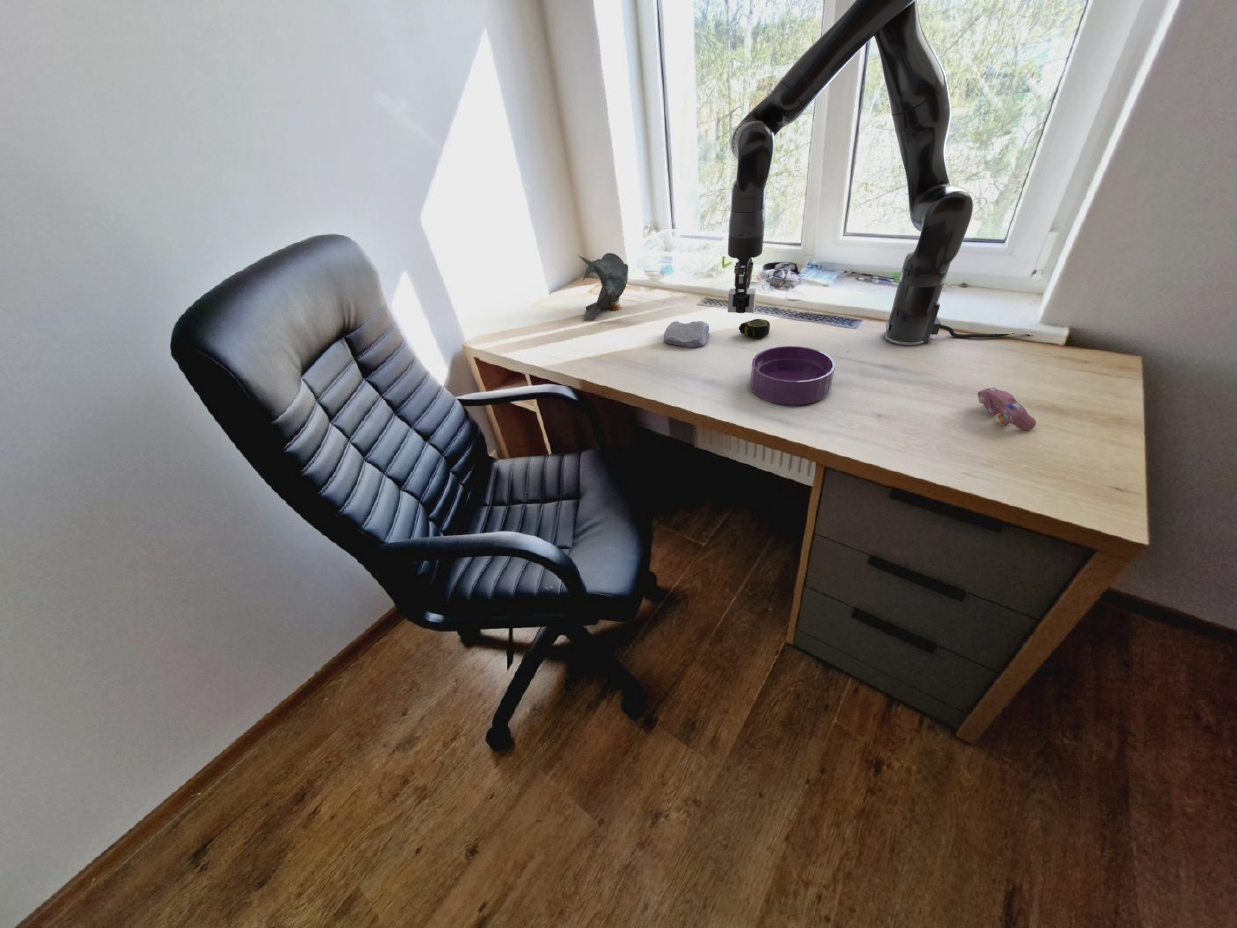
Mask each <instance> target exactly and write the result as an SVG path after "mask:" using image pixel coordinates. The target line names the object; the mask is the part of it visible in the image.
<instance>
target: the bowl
mask: <svg viewBox="0 0 1237 928" xmlns="http://www.w3.org/2000/svg"><path fill="white" fill-rule="evenodd" d="M751 361H752V362H751V371H750V381H749V382H750V384H749V385H750V388H751V391H752V392H753V393H754V394H755V395H757V396H758V397H760V398H761V399H763V400H766V401H767V402H768V401H769V402H771V403H775V404H778V405H785V406H801V405H807V404H811V403H812V404H813V403H815V402H818V401H820V400H823V399H824V398H825V397H827V396H828V395H829V394H830V392H831V390H832V384H833V379H834V374H835V369H836V363H835V361H834V359H833V358H832V357H831V356H830V355H828V354H827V353H826V352H824V351H821V350H818V349H815V348H811V347H807V346H799V345H797V346H795V345H785V346H776V347H771V348H767V349H765V350H762V351H760V352H758V353H757V354H756V355H755V356H754V357H753V358H752V360H751Z"/></svg>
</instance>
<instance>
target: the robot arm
mask: <svg viewBox="0 0 1237 928" xmlns="http://www.w3.org/2000/svg"><path fill="white" fill-rule="evenodd" d="M920 19H921V18H920V14H919V7H918V0H855V1H854V2H853V3H852V4H851V6H849V8H848V9H847V10H846V11H845V12H844V14H842V15H841V17H839V19H838V20H837V21H836V22H835V23H834V24H833V25H832V26H831V27H830V28H828V30H827V31H825V33H823V35H822V36H820V38H818V39H817V40H816V41H815V42H814V43H813V44H812V45H811V46H810V47H809V48H807V50H806V51H805V52H804V53H803V54H802V55H801V56H800V57H799V58H798V59H797V60H796V61H795V63H794V64H793V65H792V66H791V67H790V68H789V70H787V72H785V74H784V75H783V77H781V79H780V80H779V81H778V82H777V84H776V85H775V86H774V87H773V89H772V90H771V91H770V92H769V94H767V96H766V97H764V99H762V100H761V101H760V102H759V103H758V104H756V106H754V108H752V110H751V111H749V112H748V114H746V115H745V117H744V118H743V119H742V120H741V121H740V122H739V123H738V125H737V126H736V127H735V129H734V131H733V133H732V135H731V139H730V151H731V153H732V156H734V158H735V159H737V168H736V179H735V180H734V181H733V183H732V187H731V195H730V196H731V198H730V215H729V220H728V242H727V255H728V257H730V258H731V259H737V260H738V261H736V262H735V265H734V270H733V273H734V287H735V288H734V289H735V297H736V312H735V313H736V314H746V313H745V310H746V298H747V295H748V294H747V289H750V287H751V286H750V285H751V281H752V276H753V271H754V270H753V269H754V263H755V262H754V261H753V259H754V258H757V257H759V256H761V255H762V253H763V249H764V248H763V247H764V236H765V225H766V213H765V212H766V211H765V208H766V195H767V184H768V183H767V182H768V180H769V176H770V171H771V166H772V162H773V157H774V152H775V151H774V150H775V136H776V135H777V134H778V133H779V132H780V131H781V130H782V129H783V128H785V127H786V126H788V125H790V124H792V123H794V122H795V121H796V120H797V119H799V117H800V116H801V115H802V114H803V113H804V112H805V111H806V110H807V108H808V107H809V106H810V105H811V104H812V103H813V102H814V100H816V98H817V97H818V96H819V95H820V94H821V93H822V92H823V91H824V90H825V89H826V87H827V86H828V85H830V83H831V82H832V81H833V80H834V78H835V77H836V76H837V75H838V74H839V73H840V71H842V70H843V68H844V67H845V66H846V65H847V64H848V63H849V62H850V61H851V60H852V59H853V58H854V57H855V56H856V55H857V53H859V51H860V50H861V49H863V48H864V46H865V45H866V44H868V43H869V41H871V39H873V38H874V40H875V44H876V46H877V50H878V54H879V58H880V63H881V68H882V69H881V70H882V73H883V77H884V78H883V79H884V83H885V84H884V85H885V88H886V93H887V98H888V104H889V110H890V114H891V119H892V120H891V121H892V124H893V129H894V132H895V137H896V140H897V141H896V142H897V144H898V148H899V154H900V159H901V162H902V165H903V169H904V173H905V179H906V187H907V196H908V197H907V199H908V211H909V218H910V221H911V224H912V225H913V227H914V229H916V230H917V231H919V232H920V235H919V237H918V238H919V239H918V241H917V243H916V247H915V249H914V250H911V251H909V252H908V253H907V254H906V255H905V258H904V260H903V263H902V268H901V272H900V276H899V279H898V284H897V287H896V291H895V294H894V298H893V302H892V305H891V310H890V314H889V317H888V320H887V321H885V332H884V335H883V337H884V339H885V340H886V341H887V342H889V343H892V344H895V345H900V346H918V345H923V344H929V341H930V338H931V335H932V336H938V335H939V331H940V329H941V330H945V331H946V332H947V331H948V333H949V335H950V336H951V337H953V338H958V339H972V338H973V339H975V338H976V339H980V338H981V339H982V338H983V339H985V338H986V339H987V338H990V339H991V338H1001V337H1006V336H1010V335H1014V334H1015V333H1012V334H997V333H956V332H955V331H954V329H953V328H952V327H951V326H948V325H945V324H942V323H941V321H940V320H939V317H938V313H939V311H940V307H941V304H940V302H939V301H940V298H941V295H942V292H943V290H944V289H943V288H944V286H945V282H946V279H947V276H948V273H949V269H950V267H951V263H952V262H953V261H954V259H955V258H956V257H957V255H958V254H959V251H960V249H961V247H962V244H963V241H964V239H965V237H966V234H967V231H968V228H969V225H970V223H971V220H972V217H973V216H972V215H973V212H974V201H973V198H972V196H971V194H970V193H969V192H966V191H965V190H963V189H959V188H956V187H953V186H952V184H951V181H950V178H949V174H948V169H947V164H946V157H945V150H946V143H947V138H948V135H949V130H950V124H951V116H952V111H951V110H952V109H951V101H950V94H949V93H950V92H949V88H948V87H949V86H948V80H947V76H946V72H945V70H944V68H943V65H942V63H941V61H940V59H939V58H938V55H937V54H936V53H935V51H934V49H933V48H932V46H931V44H930V42H929V41H928V39H927V37H926V35H925V32H924V31H923V26H922V24H921V20H920ZM752 258H753V259H752ZM739 289H743V290H744V292H739ZM1028 336H1029V337H1031V336H1030V335H1028Z"/></svg>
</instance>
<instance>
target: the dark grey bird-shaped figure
mask: <svg viewBox="0 0 1237 928" xmlns="http://www.w3.org/2000/svg"><path fill="white" fill-rule="evenodd" d="M578 257H579V258H580V259H581V260H582V261H583V262H584V263H585V264H586V265H587V269H586V270H585V273H584V276H583V278H582V281H581V282H583V281H584V280H585V279H586V278H587V277H588V276H589V275H590V274H591V273H594V274H596V275H597V276H598V279H599V281H600V284H601V288H600V290H599V294H598V297H597V300H596V301H595V302H593V303H591V304H589V305H587V306H585V316H584V322H588V321H594V319H595V317H596V316H597V315H598V313H599V311H606V310H608V311H619V310H620V309H621V302H620V297H621V296H622V295H623V293H624V291H625V290H626V288H627V285H628V281H629V265H628V264H627V263H625V262H624V261H623V260H622V258H621V257H620V256H618V254H615V253H614V252H613V253H612V252H606V253H605V254H604V255H602V257H601V258H598V259H596V260H590V259H587V258H585V257H582V255H581V256H580V255H578Z"/></svg>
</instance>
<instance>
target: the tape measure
mask: <svg viewBox="0 0 1237 928" xmlns="http://www.w3.org/2000/svg"><path fill="white" fill-rule="evenodd" d="M770 329H771V323H770V321H769V320H767V319H764V318H763V319H762V318H754V319H751V320H748V321H745V322H742V323H740V325H739V326H738V330H739V332H740V334H742V335H745V336H747V337H749V338H752V339H753V338H754V339H758V338H764V337H766V336H767V335H769V334H770Z"/></svg>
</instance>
